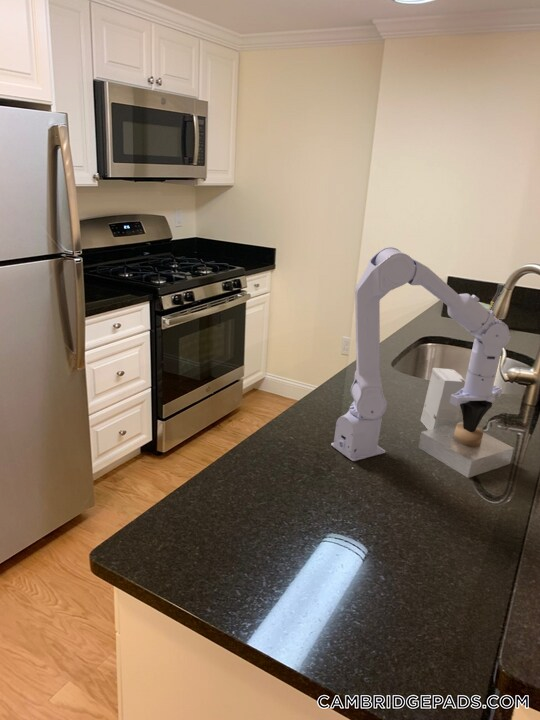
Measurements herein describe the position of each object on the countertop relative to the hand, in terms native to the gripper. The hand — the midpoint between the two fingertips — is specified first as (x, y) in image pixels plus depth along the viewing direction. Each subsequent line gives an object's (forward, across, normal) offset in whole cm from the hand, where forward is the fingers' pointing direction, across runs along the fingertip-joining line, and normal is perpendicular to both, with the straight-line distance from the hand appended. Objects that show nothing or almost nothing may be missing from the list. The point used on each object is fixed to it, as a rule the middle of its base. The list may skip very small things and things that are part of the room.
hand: (469, 430), depth 117 cm
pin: (+6, 0, 0) cm, 6 cm away
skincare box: (+7, +5, +12) cm, 15 cm away
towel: (+7, +128, +99) cm, 162 cm away
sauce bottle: (+7, +110, +75) cm, 133 cm away
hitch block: (+6, 0, 0) cm, 6 cm away
